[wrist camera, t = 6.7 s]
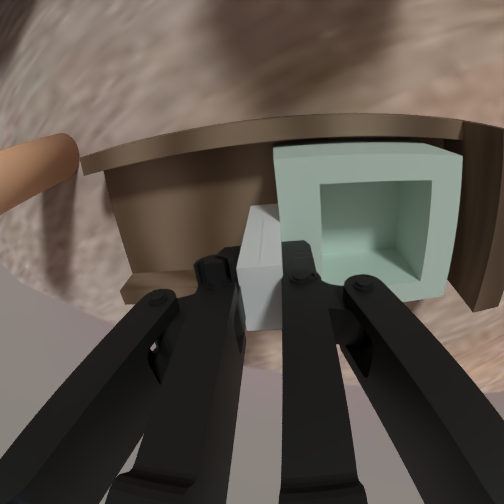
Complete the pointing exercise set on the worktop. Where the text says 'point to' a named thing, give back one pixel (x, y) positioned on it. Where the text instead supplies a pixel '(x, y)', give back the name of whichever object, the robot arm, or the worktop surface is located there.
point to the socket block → (372, 209)
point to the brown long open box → (265, 192)
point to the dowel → (35, 168)
